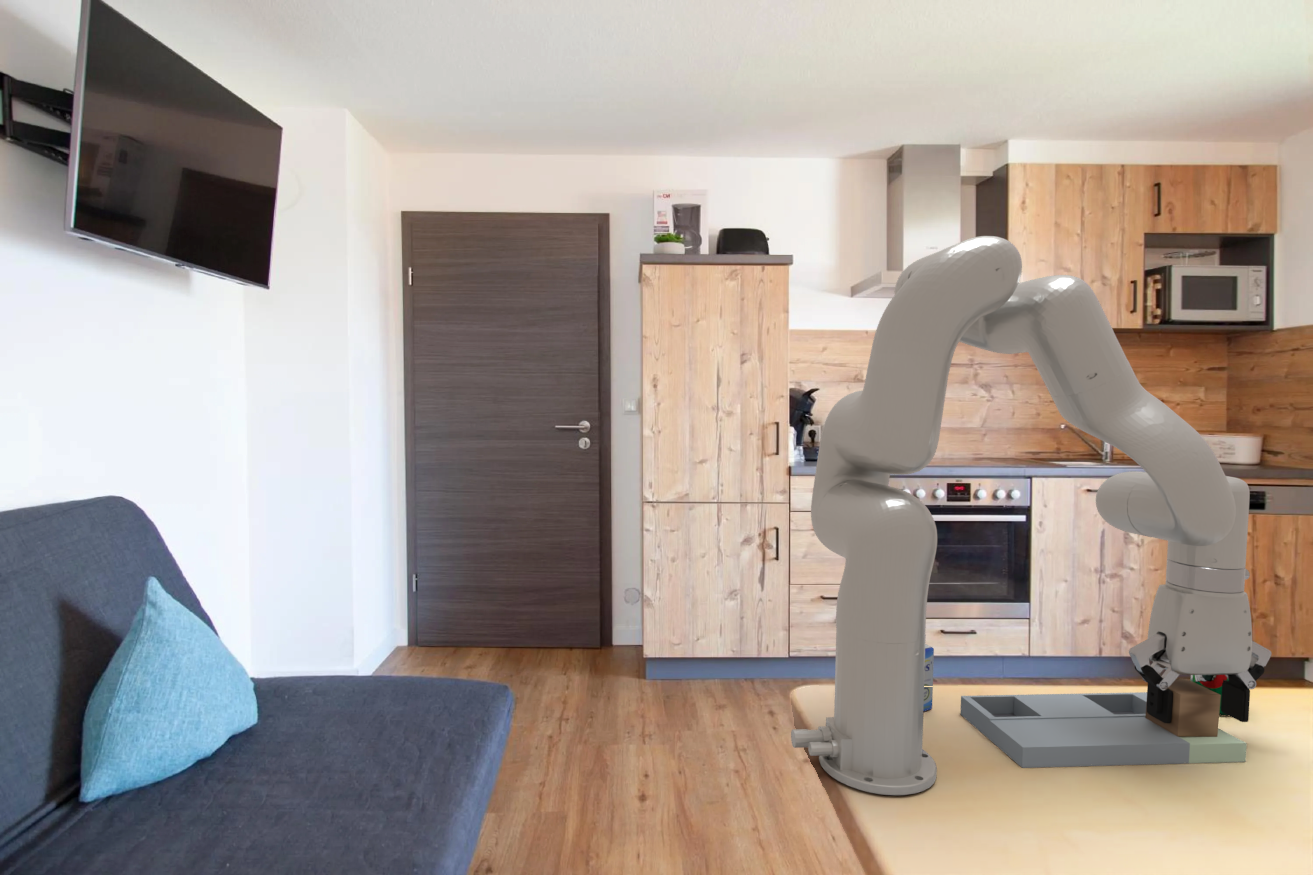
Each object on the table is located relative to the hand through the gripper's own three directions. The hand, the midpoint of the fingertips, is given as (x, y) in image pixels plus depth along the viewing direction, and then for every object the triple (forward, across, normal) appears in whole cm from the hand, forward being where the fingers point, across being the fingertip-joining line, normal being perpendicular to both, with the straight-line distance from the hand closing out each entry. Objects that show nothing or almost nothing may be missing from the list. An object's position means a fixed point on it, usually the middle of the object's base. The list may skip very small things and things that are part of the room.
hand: (1196, 717), depth 87 cm
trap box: (+3, +11, -3) cm, 12 cm away
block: (+1, +2, 0) cm, 2 cm away
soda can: (+4, -11, -10) cm, 15 cm away
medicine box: (+4, +32, -12) cm, 34 cm away
